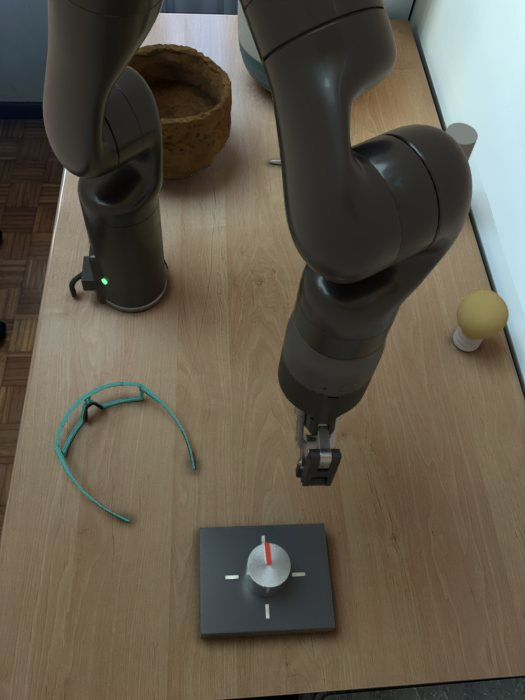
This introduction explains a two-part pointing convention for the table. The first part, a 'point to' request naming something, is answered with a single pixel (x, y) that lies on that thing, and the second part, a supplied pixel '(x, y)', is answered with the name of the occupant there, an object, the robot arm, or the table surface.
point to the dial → (267, 569)
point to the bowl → (187, 105)
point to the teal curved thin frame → (90, 402)
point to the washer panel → (250, 609)
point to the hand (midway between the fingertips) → (303, 433)
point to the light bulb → (479, 319)
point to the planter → (250, 51)
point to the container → (463, 136)
